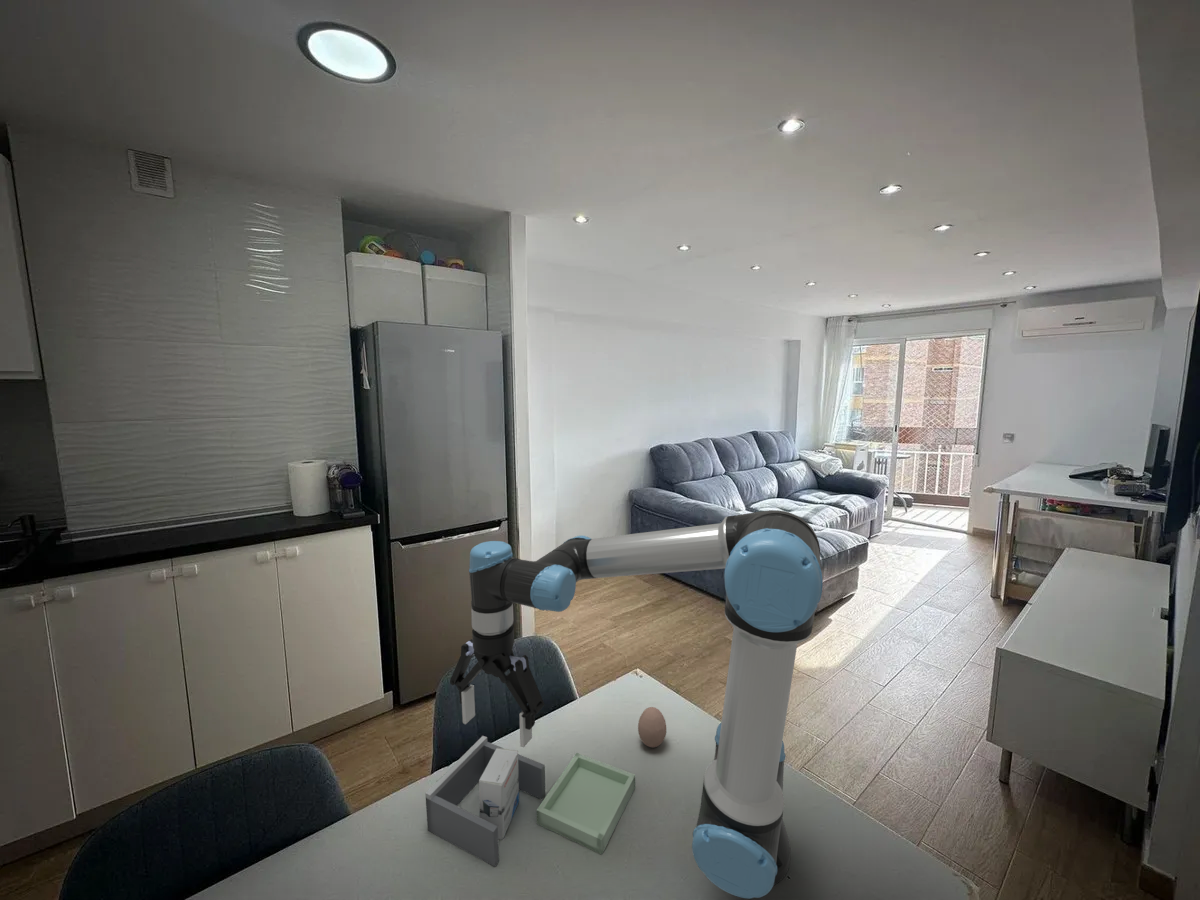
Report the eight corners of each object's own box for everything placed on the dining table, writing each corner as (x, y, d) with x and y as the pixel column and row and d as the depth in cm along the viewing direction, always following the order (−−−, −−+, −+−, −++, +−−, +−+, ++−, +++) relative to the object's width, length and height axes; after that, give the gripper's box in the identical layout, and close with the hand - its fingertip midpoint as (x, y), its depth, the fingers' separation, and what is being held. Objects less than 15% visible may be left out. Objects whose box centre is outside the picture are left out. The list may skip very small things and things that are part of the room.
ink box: (498, 797, 98) (495, 745, 96) (521, 801, 97) (519, 749, 95) (479, 836, 90) (476, 780, 88) (504, 841, 89) (502, 784, 87)
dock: (545, 795, 98) (544, 760, 97) (494, 867, 84) (493, 826, 83) (484, 768, 105) (482, 735, 104) (427, 830, 91) (425, 792, 90)
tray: (635, 787, 100) (635, 774, 100) (601, 854, 86) (601, 840, 85) (576, 764, 106) (576, 752, 106) (536, 823, 92) (536, 810, 92)
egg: (653, 760, 107) (653, 723, 106) (632, 743, 112) (632, 708, 111) (672, 745, 112) (672, 709, 111) (651, 730, 117) (651, 695, 115)
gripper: (561, 631, 86) (563, 738, 89) (455, 603, 97) (460, 699, 100) (538, 652, 79) (540, 767, 82) (427, 620, 90) (433, 722, 93)
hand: (496, 730), depth 91 cm, fingers open, 13 cm apart
